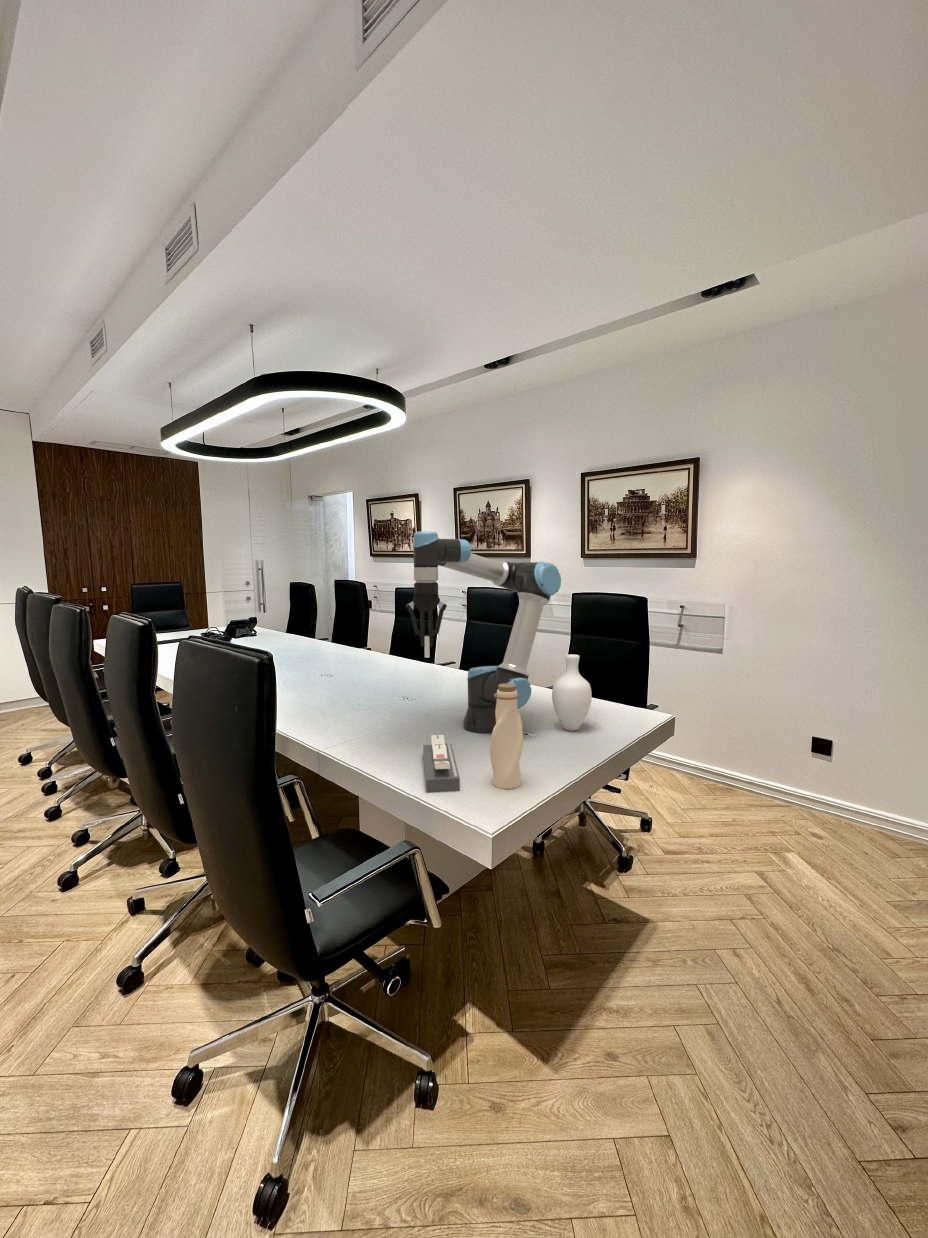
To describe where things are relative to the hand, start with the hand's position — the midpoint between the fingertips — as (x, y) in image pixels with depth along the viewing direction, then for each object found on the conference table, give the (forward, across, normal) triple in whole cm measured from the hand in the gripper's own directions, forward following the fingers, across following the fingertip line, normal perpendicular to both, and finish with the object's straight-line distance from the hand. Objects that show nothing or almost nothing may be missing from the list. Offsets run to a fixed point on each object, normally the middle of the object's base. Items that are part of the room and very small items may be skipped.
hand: (427, 656), depth 164 cm
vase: (+33, -54, -21) cm, 66 cm away
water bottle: (+33, -21, +23) cm, 45 cm away
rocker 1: (+27, -3, +4) cm, 27 cm away
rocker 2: (+27, -3, +13) cm, 30 cm away
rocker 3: (+27, -3, +22) cm, 35 cm away
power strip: (+32, -3, +9) cm, 34 cm away
